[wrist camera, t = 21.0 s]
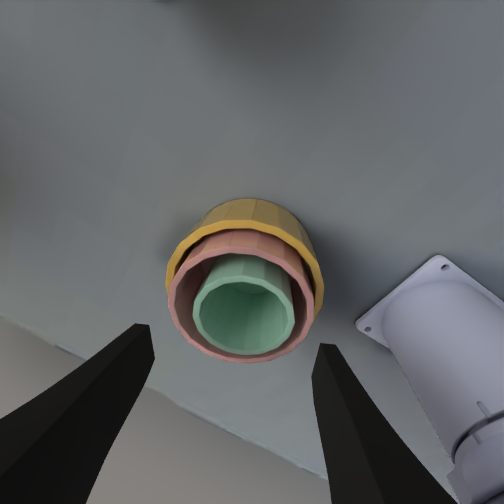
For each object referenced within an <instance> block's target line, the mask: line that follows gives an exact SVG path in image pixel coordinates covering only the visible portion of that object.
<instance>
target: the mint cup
mask: <svg viewBox="0 0 504 504" xmlns="http://www.w3.org/2000/svg"><path fill="white" fill-rule="evenodd" d="M193 319H194V321H195V324H196V327H197V329H198V331H199V332H200V333H201V334H202V336H203V337H204V338H205V339H206V340H207V341H208V342H209V343H210V344H212V345H214V346H216V347H218V348H220V349H222V350H224V351H226V352H230V353H235V354H240V355H254V354H263V353H265V352H268V351H270V350H273V349H275V348H277V347H279V346H280V345H281V344H282V343H283V342H284V341H285V340H286V339H288V338H289V336H290V334H291V332H292V329H293V326H294V324H295V316H294V307H293V299H292V291H291V283H290V275H289V273H288V272H287V271H286V270H284V269H283V268H282V267H281V266H280V265H278V264H276V263H273V262H271V261H268V260H266V259H264V258H261V257H259V256H257V255H249V254H237V253H226V254H222V255H218V256H215V257H214V259H213V262H212V264H211V266H210V268H209V270H208V272H207V274H206V277H205V279H204V281H203V283H202V285H201V287H200V289H199V292H198V294H197V296H196V298H195V300H194V307H193Z"/></svg>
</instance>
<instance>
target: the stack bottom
mask: <svg viewBox="0 0 504 504" xmlns="http://www.w3.org/2000/svg"><path fill="white" fill-rule="evenodd" d="M231 228H252V229H255V230H259V231H262V232H266V233H269V234H273V235H276V236H277V237H279V238H280V239H282V240H284V241H285V242H287V243H288V244H290V245H291V246H293V247H294V248H296V249H297V251H298V252H299V253H300V254H301V256H302V257H303V258H304V261H305V265H306V269H307V273H308V278H309V282H310V286H311V290H312V294H313V298H314V321H315V319H316V317H317V315H318V313H319V311H320V309H321V307H322V304H323V294H324V282H323V278H322V275H321V271H320V268H319V264H318V261H317V259H316V256H315V253H314V250H313V247H312V244H311V241H310V239H309V236H308V234H307V233H306V231H305V229H304V227H303V226H302V225H301V223H300V222H299V221H298V220H297V219H296V218H295V217H294V216H293V215H292V214H291V213H290V212H288V211H287V210H285V209H284V208H282V207H280V206H278V205H276V204H274V203H271V202H268V201H265V200H259V199H237V200H232V201H229V202H226V203H223V204H221V205H219V206H217V207H215V208H214V209H212V210H211V211H210V212H208V213H207V214H206V215H205V216H204V217H203V218H202V219H200V220H199V222H198V223H197V224H196V225H195V226H194V227H193V229H192V230H191V231H190V232H189V233H188V234H187V235H186V237H185V238H184V239H183V240H182V241H181V242H180V244H179V245H178V246H177V248H176V250H175V252H174V253H173V255H172V257H171V259H170V260H169V262H168V267H167V274H166V282H165V285H166V289H167V293H168V297H169V288H170V284H171V282H172V280H173V279H174V277H175V275H176V274H177V272H178V271H179V269H180V267H181V266H182V264H183V263H184V261H185V260H186V259H187V257H188V256H189V254H190V253H191V251H192V250H193V249H194V247H195V246H196V244H197V243H198V242H199V240H200V239H201V237H203V236H205V235H208V234H211V233H214V232H217V231H220V230H223V229H231ZM314 321H313V323H314ZM313 323H312V324H313Z"/></svg>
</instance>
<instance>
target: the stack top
mask: <svg viewBox="0 0 504 504" xmlns="http://www.w3.org/2000/svg"><path fill="white" fill-rule="evenodd" d="M226 253H237V254H249V255H257V256H259V257H261V258H264V259H266V260H268V261H271V262H273V263H276V264H278V265H280V266H281V267H282V268H283V269H284V270H286V271H287V272H288V273H289V275H290V283H291V291H292V299H293V307H294V316H295V324H294V326H293V329H292V332H291V334H290V336H289V338H288V339H286V340H285V341H284V342H283V343H282V344H281V345H280V346H279V347H277V348H275V349H273V350H270V351H268V352H265V353H263V354H254V355H240V354H235V353H230V352H226V351H224V350H222V349H220V348H218V347H216V346H214V345H212V344H210V343H209V342H208V341H207V340H206V339H205V338H204V337H203V336H202V334H201V333H200V332H199V331H198V329H197V327H196V324H195V321H194V319H193V307H194V300H195V298H196V296H197V294H198V292H199V289H200V287H201V285H202V283H203V281H204V279H205V277H206V274H207V272H208V270H209V268H210V266H211V264H212V262H213V259H214V257H215V256H218V255H222V254H226ZM168 307H169V310H170V313H171V316H172V319H173V322H174V324H175V326H176V327H177V329H178V330H179V331H180V332H181V334H182V335H183V336H184V337H185V339H186V340H187V341H188V342H189V343H191V344H192V345H194V346H195V347H197V348H198V349H200V350H201V351H202V352H204V353H206V354H208V355H211V356H214V357H216V358H219V359H222V360H225V361H230V362H239V363H257V362H264V361H270V360H273V359H275V358H278V357H280V356H282V355H285V354H287V353H289V352H291V351H292V350H293V349H294V348H295V347H296V346H297V345H298V344H300V343H301V342H302V341H303V340H304V339H305V338H306V336H307V334H308V331H309V329H310V327H311V325H312V323H313V321H314V298H313V294H312V290H311V286H310V282H309V278H308V273H307V269H306V265H305V261H304V258H303V257H302V256H301V254H300V253H299V252H298V251H297V249H296V248H294V247H293V246H291V245H290V244H288V243H287V242H285V241H284V240H282V239H280V238H279V237H277V236H276V235H273V234H269V233H266V232H262V231H259V230H255V229H252V228H231V229H223V230H220V231H217V232H214V233H211V234H208V235H205V236H203V237H201V239H200V240H199V242H198V243H197V244H196V246H195V247H194V249H193V250H192V251H191V253H190V254H189V256H188V257H187V259H186V260H185V261H184V263H183V264H182V266H181V267H180V269H179V271H178V272H177V274H176V275H175V277H174V279H173V280H172V282H171V284H170V288H169V299H168Z"/></svg>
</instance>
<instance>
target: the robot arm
mask: <svg viewBox="0 0 504 504" xmlns="http://www.w3.org/2000/svg"><path fill="white" fill-rule="evenodd" d="M445 264H446V265H445ZM443 265H445V267H443V268H441V267H442V266H443ZM355 325H356V328H357V329H358V330H359V331H361V332H363V333H364V334H366V335H368V336H369V337H371V338H372V339H374V340H376V341H377V342H379V343H380V344H382V345H384V346H385V347H387V348H389V349H390V350H392V352H393V354H394V356H395V358H396V360H397V361H398V363H399V365H400V367H401V369H402V370H403V372H404V374H405V376H406V378H407V380H408V381H409V383H410V385H411V387H412V389H413V391H414V392H415V394H416V396H417V398H418V400H419V401H420V403H421V405H422V407H423V409H424V411H425V412H426V414H427V416H428V418H429V420H430V421H431V423H432V425H433V427H434V429H435V431H436V432H437V434H438V436H439V438H440V440H441V441H442V443H443V445H444V447H445V449H446V451H447V452H448V454H449V456H450V458H451V460H452V462H453V463H454V464H455V468H454V470H453V471H452V472H451V473H450V474H448V475H447V478H448V480H449V482H450V484H451V486H452V488H453V490H454V492H455V494H456V496H457V498H458V500H459V502H460V504H504V302H503V301H502V300H501V299H499V298H498V297H497V296H495V295H494V294H493V293H491V292H490V291H489V290H487V289H486V288H485V287H483V286H482V285H481V284H480V283H478V282H477V281H476V280H474V279H473V278H472V277H470V276H469V275H468V274H466V273H465V272H464V271H463V270H461V269H460V268H459V267H457V266H456V265H455V264H453V263H452V262H451V261H449V260H448V259H447V258H445V257H444V256H442V255H436V256H434V257H432V258H431V259H430V260H429V261H427V262H426V263H425V264H424V265H423V266H421V267H420V268H419V269H418V270H417V271H415V272H414V273H413V274H412V275H411V276H410V277H408V278H407V279H406V280H405V281H404V282H402V283H401V284H400V285H399V286H398V287H396V288H395V289H394V290H393V291H392V292H390V293H389V294H388V295H387V296H386V297H384V298H383V299H382V300H381V301H380V302H378V303H377V304H376V305H375V306H374V307H372V308H371V309H370V310H369V311H368V312H366V313H365V314H364V315H363V316H362V317H360V318H359V319H358V320H357V321H356V323H355ZM366 327H368V328H366ZM154 360H155V356H154V350H153V345H152V339H151V333H150V328H149V325H145V324H136V323H135V324H134V325H132V326H131V327H130V328H129V329H127V330H126V331H125V332H123V333H122V334H121V335H120V336H118V337H117V338H116V339H115V340H113V341H112V342H111V343H109V344H108V345H107V346H106V347H104V348H103V349H102V350H100V351H99V352H98V353H97V354H95V355H94V356H93V357H91V358H90V359H89V360H87V361H86V362H85V363H83V364H82V365H81V366H79V367H78V368H77V369H75V370H74V371H72V372H71V373H70V374H68V375H67V376H65V377H64V378H63V379H61V380H60V381H58V382H57V383H56V384H54V385H53V386H52V387H50V388H48V389H47V390H45V391H44V392H43V393H41V394H39V395H38V396H37V397H35V398H33V399H32V400H31V401H29V402H27V403H26V404H24V405H22V406H21V407H19V408H18V409H16V410H14V411H13V412H11V413H10V414H8V415H6V416H5V417H3V418H1V419H0V504H86V502H87V499H88V497H89V495H90V492H91V489H92V488H93V485H94V483H95V481H96V479H97V476H98V474H99V472H100V469H101V467H102V465H103V463H104V460H105V458H106V456H107V454H108V452H109V450H110V448H111V446H112V444H113V442H114V440H115V438H116V437H117V435H118V433H119V431H120V429H121V427H122V425H123V424H124V422H125V420H126V418H127V416H128V414H129V413H130V411H131V409H132V407H133V405H134V403H135V401H136V399H137V398H138V396H139V394H140V392H141V390H142V388H143V386H144V384H145V382H146V380H147V377H148V375H149V373H150V370H151V367H152V365H153V362H154ZM312 388H313V398H314V406H315V411H316V417H317V422H318V427H319V432H320V437H321V442H322V447H323V452H324V458H325V463H326V468H327V473H328V479H329V485H330V492H331V501H332V504H458V503H457V502H456V501H455V500H454V499H453V498H452V497H451V496H450V495H449V494H448V493H447V492H446V491H445V490H444V488H443V487H442V486H441V485H440V484H439V483H438V482H437V480H436V479H435V478H434V477H433V476H432V475H431V474H430V473H429V471H428V470H427V469H426V468H425V467H424V466H423V465H422V463H421V462H420V461H419V460H418V459H417V457H416V456H415V455H414V454H413V453H412V451H411V450H410V449H409V448H408V447H407V445H406V444H405V443H404V442H403V440H402V439H401V438H400V437H399V435H398V434H397V433H396V432H395V430H394V429H393V428H392V426H391V425H390V424H389V422H388V421H387V420H386V419H385V417H384V416H383V415H382V413H381V412H380V410H379V409H378V408H377V406H376V405H375V404H374V402H373V401H372V399H371V398H370V396H369V395H368V394H367V392H366V391H365V389H364V388H363V386H362V385H361V383H360V382H359V380H358V379H357V377H356V376H355V374H354V373H353V371H352V370H351V368H350V367H349V365H348V364H347V362H346V360H345V359H344V357H343V356H342V354H341V352H340V351H339V349H338V347H337V346H336V345H334V344H325V343H320V346H319V349H318V353H317V357H316V361H315V365H314V369H313V372H312Z"/></svg>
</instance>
